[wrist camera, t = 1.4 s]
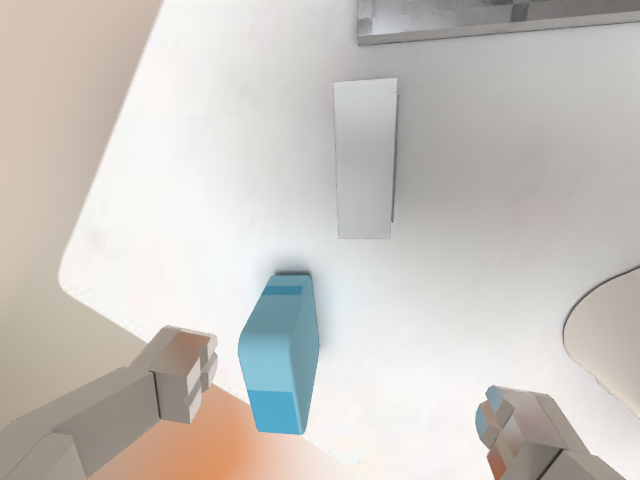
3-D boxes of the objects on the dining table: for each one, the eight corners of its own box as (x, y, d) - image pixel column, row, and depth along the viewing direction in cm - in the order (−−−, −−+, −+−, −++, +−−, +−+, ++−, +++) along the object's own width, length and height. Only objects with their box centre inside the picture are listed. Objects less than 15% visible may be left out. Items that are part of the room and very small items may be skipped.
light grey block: (390, 84, 26) (401, 77, 19) (386, 206, 30) (393, 238, 23) (341, 87, 27) (333, 82, 19) (344, 206, 31) (338, 238, 24)
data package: (273, 270, 35) (233, 344, 24) (311, 269, 35) (287, 345, 24) (286, 348, 40) (258, 439, 29) (320, 349, 39) (304, 443, 29)
